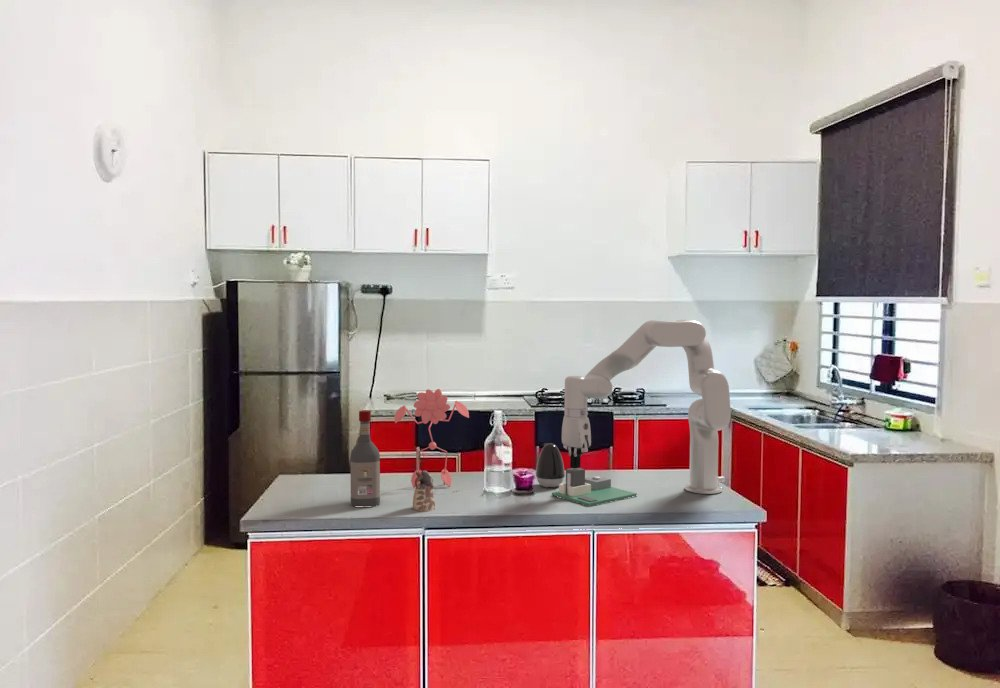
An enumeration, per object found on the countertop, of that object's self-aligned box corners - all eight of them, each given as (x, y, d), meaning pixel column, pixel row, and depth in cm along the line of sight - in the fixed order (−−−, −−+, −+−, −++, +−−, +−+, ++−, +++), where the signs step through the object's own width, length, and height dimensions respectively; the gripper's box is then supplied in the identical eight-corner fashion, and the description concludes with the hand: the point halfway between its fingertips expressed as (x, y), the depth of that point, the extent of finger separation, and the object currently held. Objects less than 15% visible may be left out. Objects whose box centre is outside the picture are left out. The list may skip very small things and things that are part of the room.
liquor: (380, 507, 254) (379, 412, 253) (350, 508, 253) (350, 413, 251) (379, 500, 263) (379, 408, 262) (351, 501, 262) (350, 409, 260)
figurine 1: (394, 484, 285) (394, 386, 282) (467, 483, 287) (467, 386, 285) (393, 496, 269) (393, 392, 267) (470, 494, 272) (471, 392, 270)
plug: (576, 490, 273) (576, 467, 272) (584, 493, 269) (585, 469, 269) (564, 493, 269) (564, 469, 269) (572, 495, 266) (572, 471, 266)
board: (598, 486, 283) (598, 479, 283) (636, 496, 269) (636, 488, 269) (551, 495, 270) (551, 487, 270) (589, 506, 256) (589, 498, 256)
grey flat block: (596, 483, 283) (596, 474, 283) (610, 487, 278) (610, 477, 278) (582, 486, 279) (582, 476, 279) (596, 490, 274) (596, 480, 273)
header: (576, 489, 275) (576, 480, 275) (591, 493, 269) (591, 484, 269) (559, 492, 270) (559, 483, 270) (573, 496, 264) (573, 487, 264)
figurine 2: (437, 510, 250) (437, 472, 250) (415, 512, 248) (414, 473, 248) (432, 504, 257) (432, 467, 257) (410, 506, 255) (410, 469, 255)
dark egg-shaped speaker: (557, 481, 291) (558, 440, 290) (569, 488, 281) (569, 445, 280) (531, 483, 287) (531, 441, 287) (541, 490, 278) (542, 446, 277)
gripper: (599, 414, 265) (599, 470, 266) (568, 409, 276) (568, 462, 277) (583, 416, 260) (582, 472, 261) (552, 411, 272) (552, 465, 273)
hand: (575, 467), depth 269 cm, fingers closed
